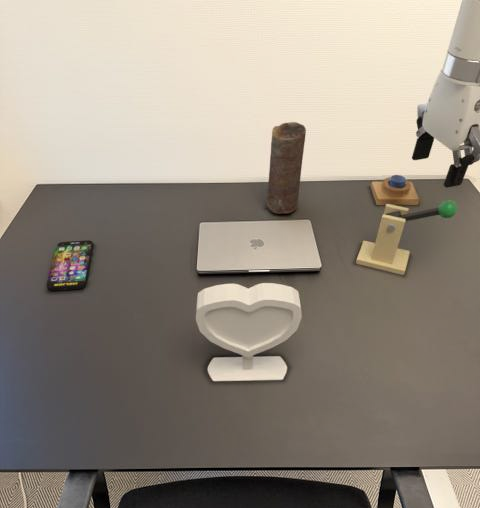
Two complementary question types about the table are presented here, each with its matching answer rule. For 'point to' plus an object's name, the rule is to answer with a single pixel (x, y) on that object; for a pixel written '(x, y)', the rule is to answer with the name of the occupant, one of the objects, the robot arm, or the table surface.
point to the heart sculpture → (248, 327)
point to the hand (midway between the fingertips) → (435, 171)
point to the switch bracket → (386, 244)
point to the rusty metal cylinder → (285, 167)
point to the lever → (430, 212)
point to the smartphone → (70, 265)
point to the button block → (394, 193)
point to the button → (397, 181)
